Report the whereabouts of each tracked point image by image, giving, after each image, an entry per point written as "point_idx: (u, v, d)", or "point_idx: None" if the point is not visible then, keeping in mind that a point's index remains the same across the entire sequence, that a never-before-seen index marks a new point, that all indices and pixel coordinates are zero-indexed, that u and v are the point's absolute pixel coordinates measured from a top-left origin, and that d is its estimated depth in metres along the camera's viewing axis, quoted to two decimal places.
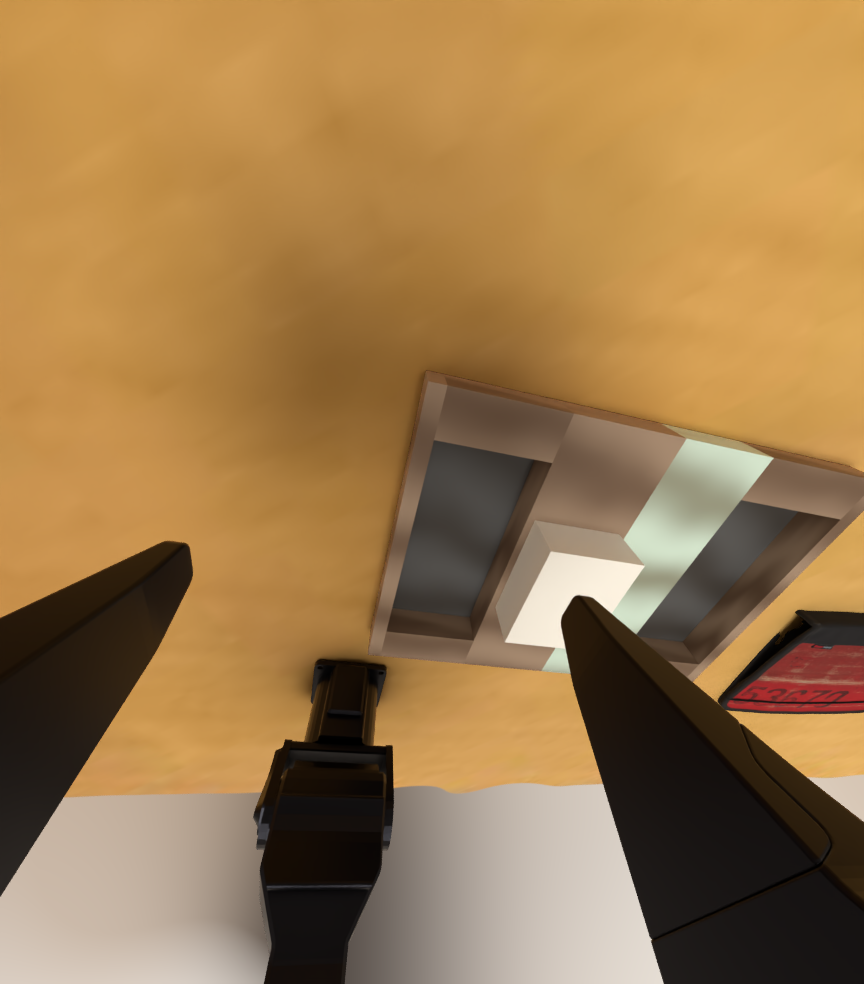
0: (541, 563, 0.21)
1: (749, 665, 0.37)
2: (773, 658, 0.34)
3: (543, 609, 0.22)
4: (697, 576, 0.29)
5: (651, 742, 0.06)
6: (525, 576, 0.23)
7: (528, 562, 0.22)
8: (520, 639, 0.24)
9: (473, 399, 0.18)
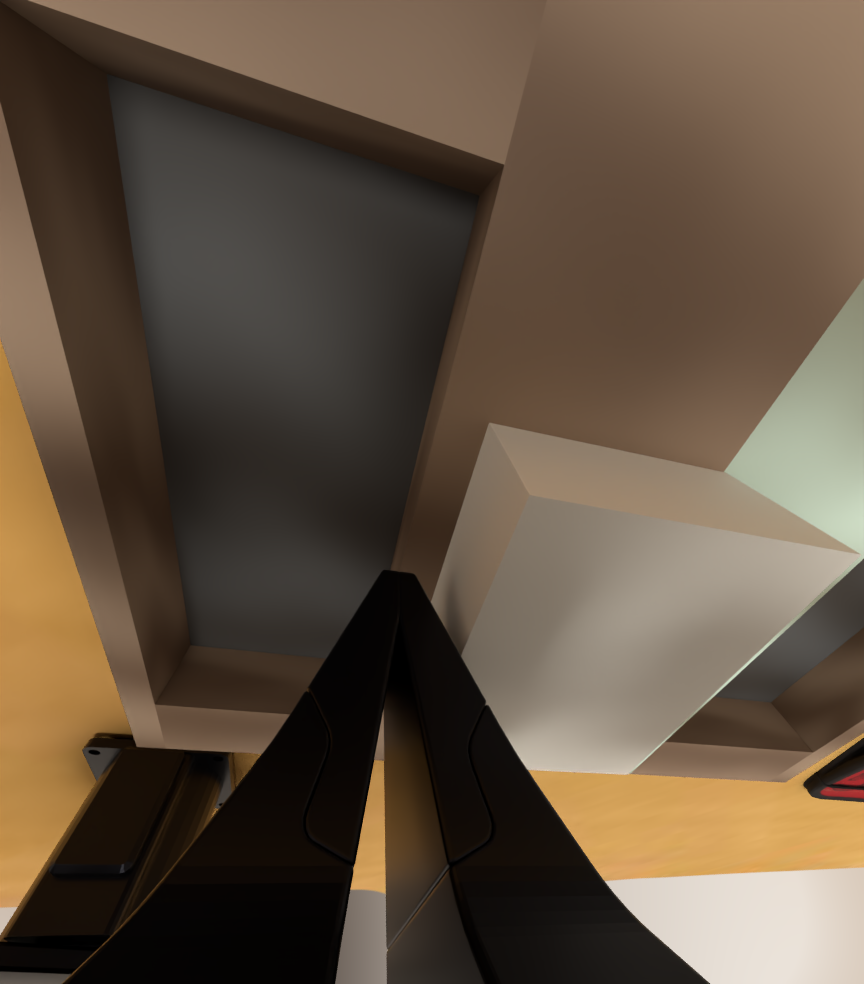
0: (499, 545, 0.06)
1: None
2: None
3: (512, 688, 0.07)
4: None
5: (402, 726, 0.06)
6: (461, 589, 0.08)
7: (469, 547, 0.07)
8: None
9: None
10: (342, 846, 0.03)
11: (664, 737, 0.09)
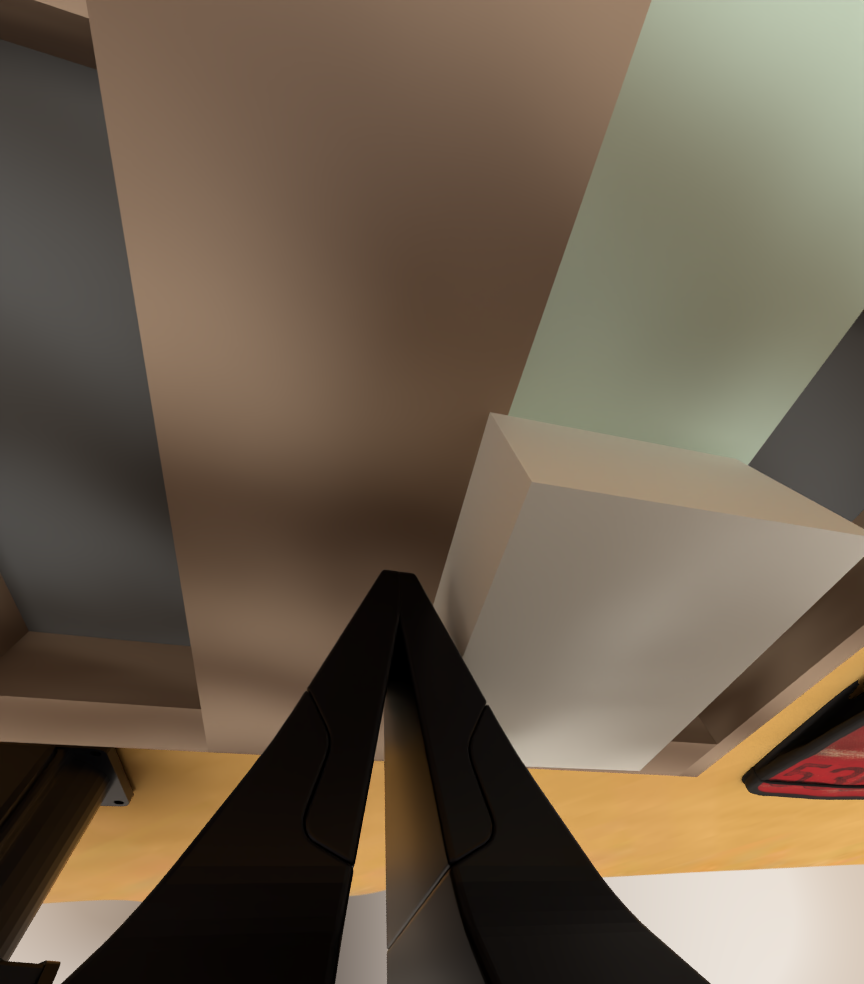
0: (501, 536, 0.06)
1: (801, 728, 0.20)
2: (853, 722, 0.18)
3: (519, 682, 0.07)
4: None
5: (403, 726, 0.06)
6: (464, 583, 0.07)
7: (471, 540, 0.07)
8: None
9: None
10: (342, 846, 0.03)
11: (677, 733, 0.09)
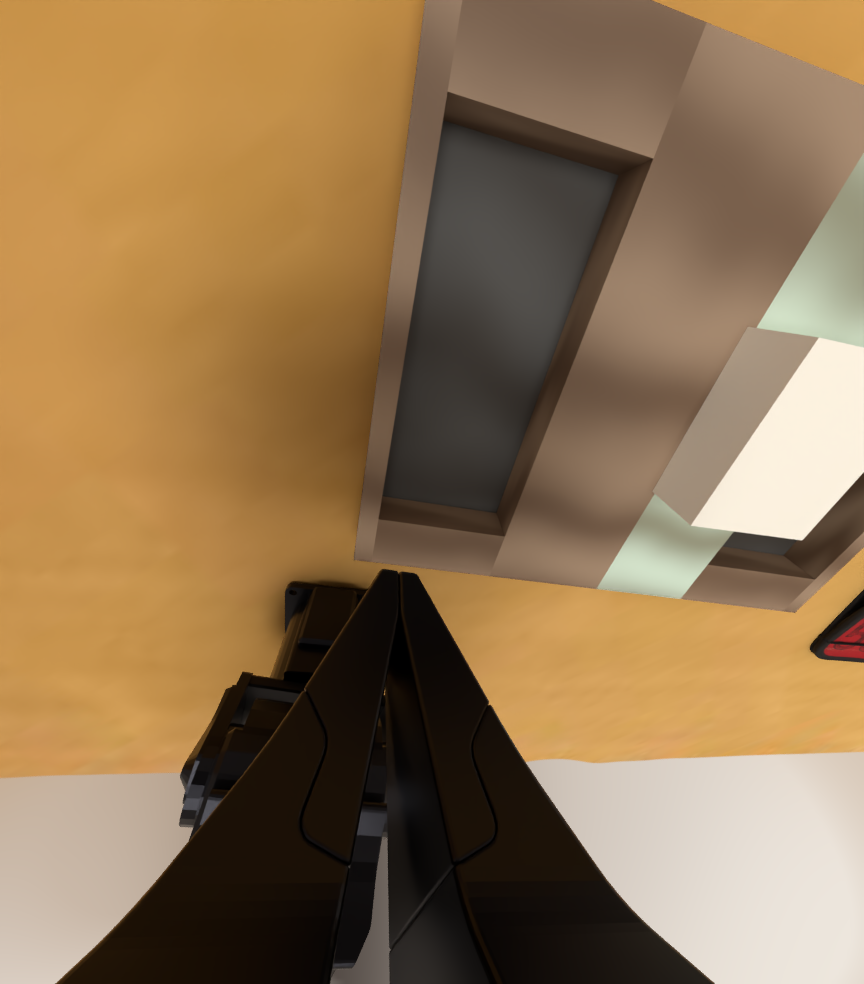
0: (788, 370, 0.13)
1: (862, 593, 0.28)
2: None
3: (766, 461, 0.15)
4: None
5: (405, 727, 0.06)
6: (737, 413, 0.15)
7: (741, 390, 0.15)
8: (715, 520, 0.16)
9: None
10: (338, 846, 0.03)
11: (832, 506, 0.16)
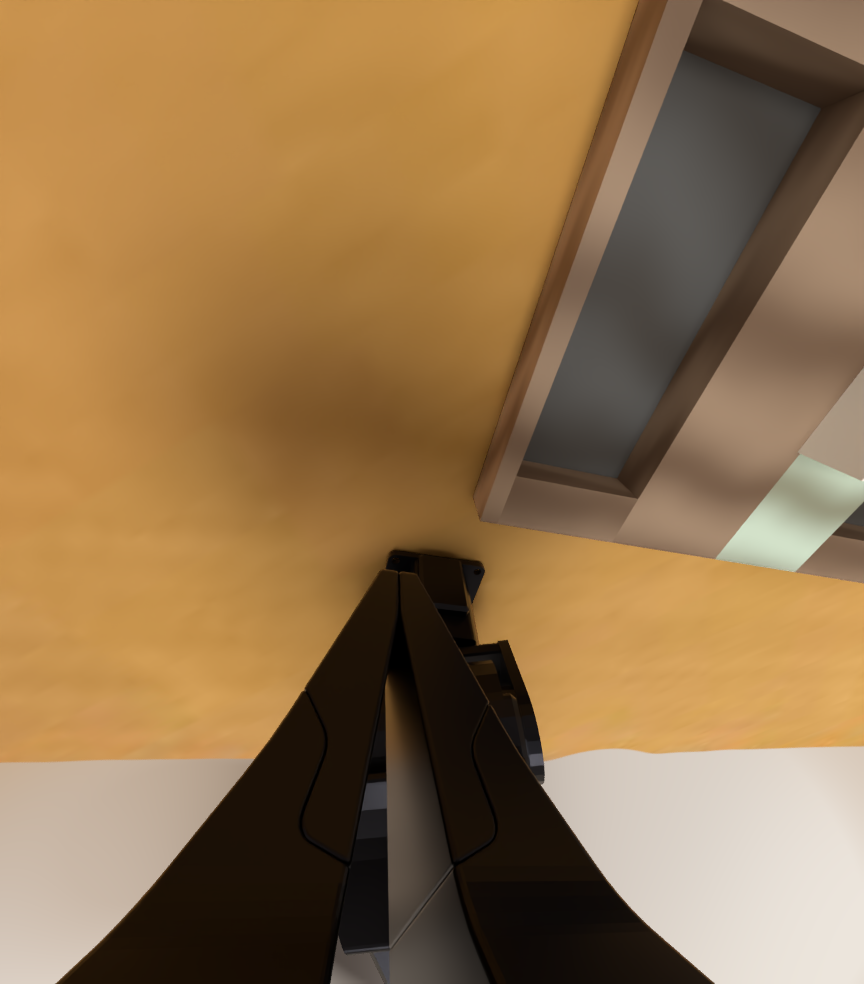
0: None
1: None
2: None
3: None
4: None
5: (405, 727, 0.06)
6: None
7: None
8: None
9: None
10: (338, 846, 0.03)
11: None
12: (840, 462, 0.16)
